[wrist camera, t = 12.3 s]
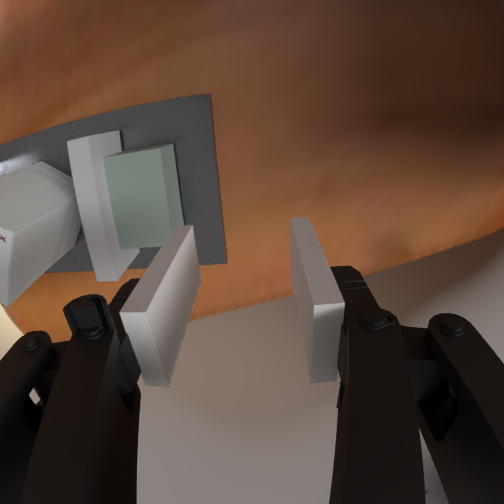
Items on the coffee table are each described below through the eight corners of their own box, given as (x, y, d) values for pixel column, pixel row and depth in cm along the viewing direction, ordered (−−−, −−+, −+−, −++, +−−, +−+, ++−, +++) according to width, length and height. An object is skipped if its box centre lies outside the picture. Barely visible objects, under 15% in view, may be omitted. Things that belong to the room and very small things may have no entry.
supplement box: (41, 158, 27) (-45, 190, 16) (94, 188, 29) (15, 235, 17) (26, 218, 30) (-48, 266, 18) (75, 248, 31) (8, 311, 20)
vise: (-11, 150, 27) (-50, 162, 21) (210, 94, 26) (196, 88, 20) (18, 270, 34) (-13, 297, 28) (227, 259, 33) (220, 296, 26)
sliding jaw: (100, 134, 26) (66, 141, 21) (170, 121, 26) (148, 123, 20) (122, 252, 31) (97, 281, 26) (187, 248, 31) (173, 278, 25)
